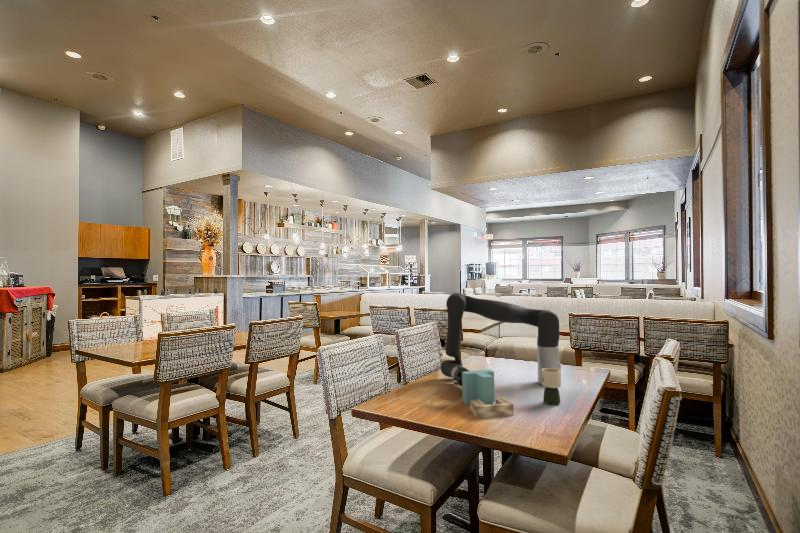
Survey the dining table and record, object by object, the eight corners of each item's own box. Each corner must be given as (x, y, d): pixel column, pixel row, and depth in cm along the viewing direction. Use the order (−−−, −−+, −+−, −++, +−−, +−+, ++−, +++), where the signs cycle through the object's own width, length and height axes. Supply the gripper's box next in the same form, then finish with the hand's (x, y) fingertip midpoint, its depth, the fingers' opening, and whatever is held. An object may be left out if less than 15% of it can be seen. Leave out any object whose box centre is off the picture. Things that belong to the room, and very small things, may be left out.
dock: (504, 407, 161) (503, 397, 161) (513, 415, 153) (513, 404, 153) (470, 410, 159) (469, 399, 159) (477, 418, 151) (477, 406, 151)
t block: (490, 398, 173) (489, 369, 173) (503, 407, 162) (502, 375, 162) (462, 401, 170) (462, 371, 170) (473, 410, 159) (473, 378, 159)
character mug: (546, 398, 172) (545, 366, 172) (564, 400, 168) (563, 368, 168) (538, 405, 163) (537, 371, 163) (557, 408, 159) (556, 373, 159)
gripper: (476, 383, 189) (490, 394, 172) (447, 384, 187) (458, 395, 170) (475, 366, 189) (489, 375, 172) (447, 367, 187) (458, 377, 170)
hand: (474, 385), depth 171 cm, fingers closed
